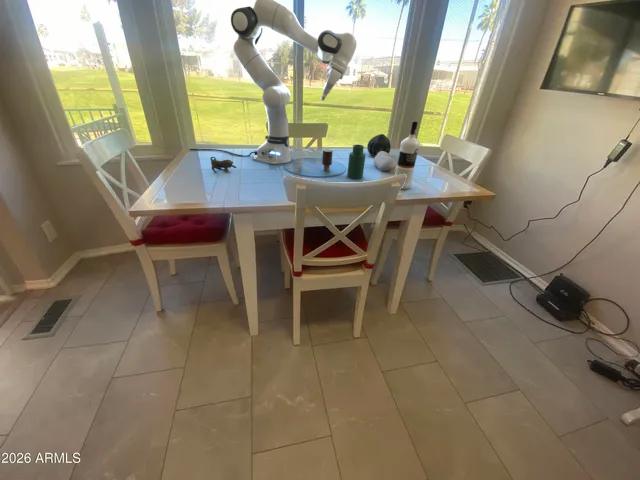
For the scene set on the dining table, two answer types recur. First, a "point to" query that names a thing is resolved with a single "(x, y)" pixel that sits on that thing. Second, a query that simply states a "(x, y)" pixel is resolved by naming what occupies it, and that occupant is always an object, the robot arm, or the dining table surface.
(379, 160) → the decorative stone
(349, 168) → the bottle
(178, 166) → the dining table surface
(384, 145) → the squash
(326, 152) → the stopper
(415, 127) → the vodka
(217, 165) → the dog figurine
